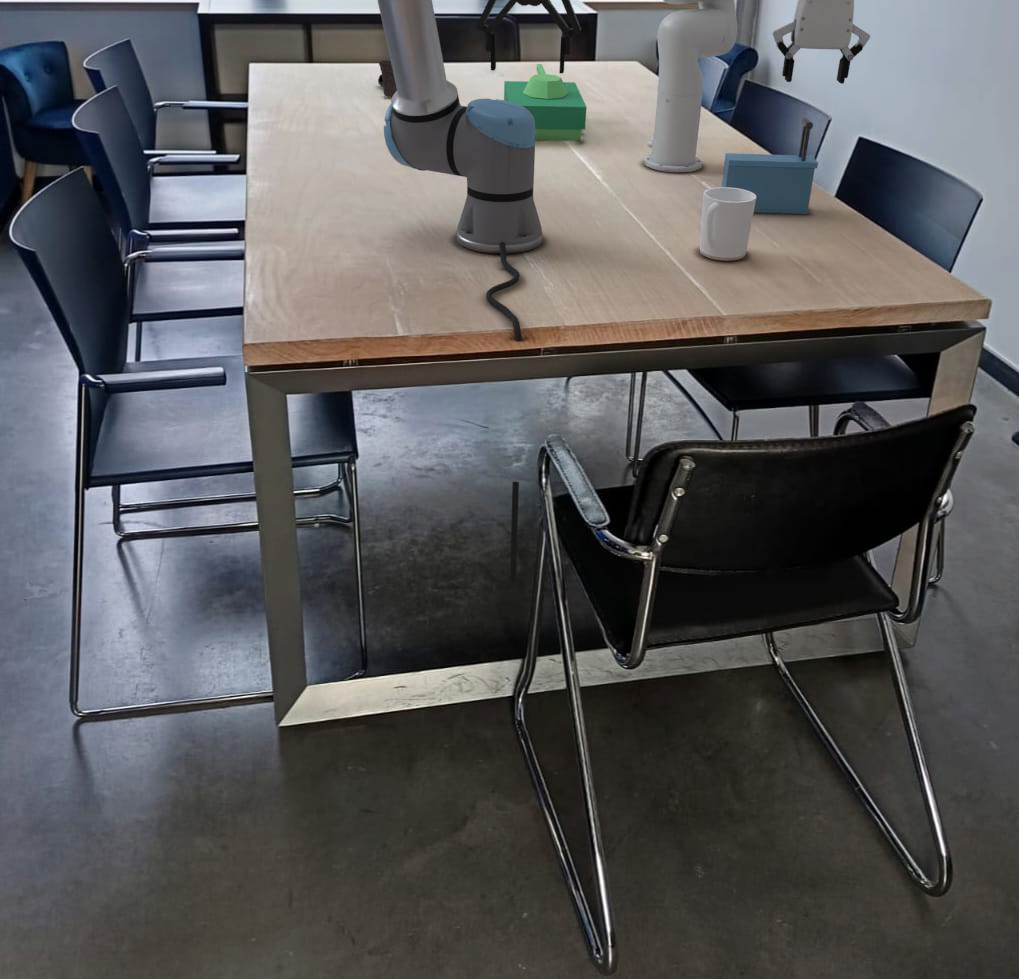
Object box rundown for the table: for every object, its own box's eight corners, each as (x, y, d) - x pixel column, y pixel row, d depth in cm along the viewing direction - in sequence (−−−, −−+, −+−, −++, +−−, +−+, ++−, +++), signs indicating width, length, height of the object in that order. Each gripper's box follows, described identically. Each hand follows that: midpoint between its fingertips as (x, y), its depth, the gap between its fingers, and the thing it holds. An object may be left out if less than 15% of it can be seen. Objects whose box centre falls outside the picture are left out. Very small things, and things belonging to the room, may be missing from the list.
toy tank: (572, 60, 278) (587, 89, 248) (570, 110, 284) (584, 145, 254) (503, 59, 277) (509, 88, 247) (502, 109, 283) (508, 143, 253)
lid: (812, 161, 212) (819, 116, 208) (817, 168, 208) (824, 123, 204) (725, 158, 213) (730, 114, 208) (728, 165, 208) (734, 120, 204)
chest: (802, 206, 217) (809, 161, 212) (807, 214, 213) (814, 168, 208) (719, 203, 217) (724, 158, 213) (722, 211, 213) (728, 165, 208)
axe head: (443, 87, 294) (392, 77, 287) (436, 115, 299) (385, 106, 292) (421, 62, 307) (371, 52, 300) (414, 89, 311) (365, 80, 304)
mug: (713, 241, 197) (720, 184, 192) (757, 252, 193) (765, 194, 187) (681, 256, 190) (687, 197, 185) (726, 268, 185) (733, 208, 180)
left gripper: (598, -48, 208) (591, 69, 219) (467, -53, 209) (467, 64, 220) (596, -45, 201) (589, 77, 212) (462, -49, 203) (462, 71, 214)
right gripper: (873, -22, 196) (856, 78, 205) (777, -24, 197) (763, 76, 206) (884, -16, 190) (865, 87, 199) (784, -19, 190) (770, 84, 199)
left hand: (527, 70), depth 216 cm, fingers open, 13 cm apart
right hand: (813, 81), depth 202 cm, fingers open, 9 cm apart
